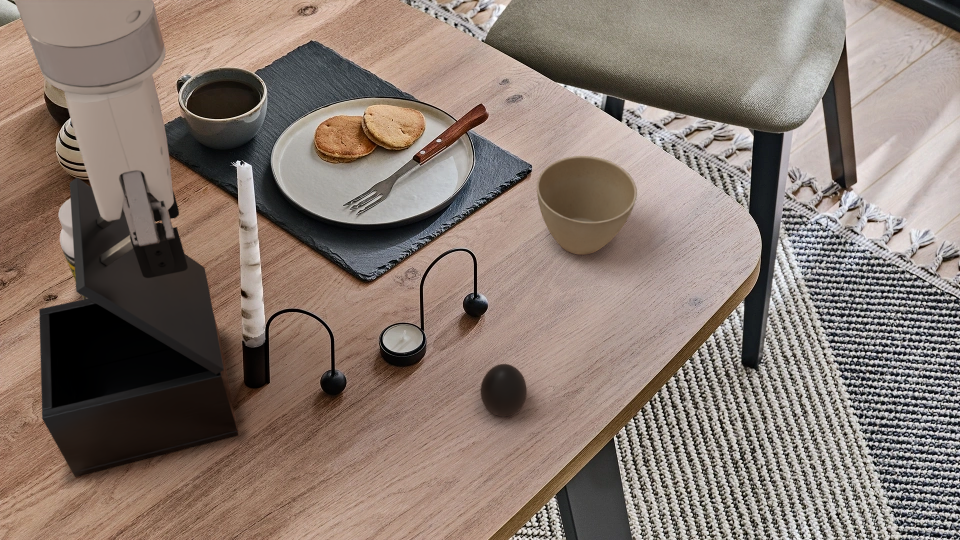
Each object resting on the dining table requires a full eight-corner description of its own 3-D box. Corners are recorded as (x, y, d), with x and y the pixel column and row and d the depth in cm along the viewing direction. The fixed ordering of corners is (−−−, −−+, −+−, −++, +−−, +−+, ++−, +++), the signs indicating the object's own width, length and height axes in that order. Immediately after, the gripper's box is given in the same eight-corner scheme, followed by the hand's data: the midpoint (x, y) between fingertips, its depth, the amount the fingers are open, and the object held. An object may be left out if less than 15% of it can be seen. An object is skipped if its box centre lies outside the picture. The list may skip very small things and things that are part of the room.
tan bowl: (586, 193, 104) (594, 143, 99) (646, 248, 99) (657, 197, 93) (513, 228, 100) (517, 177, 95) (571, 286, 95) (578, 236, 89)
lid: (75, 291, 64) (136, 249, 63) (69, 182, 72) (123, 143, 71) (216, 374, 75) (270, 339, 74) (198, 272, 83) (246, 239, 82)
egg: (470, 404, 85) (471, 371, 81) (500, 377, 87) (502, 343, 83) (505, 430, 83) (507, 397, 79) (534, 402, 85) (538, 369, 81)
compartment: (75, 478, 79) (41, 418, 72) (69, 371, 86) (38, 308, 80) (239, 436, 82) (221, 375, 75) (220, 336, 89) (202, 273, 83)
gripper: (32, -23, 63) (104, 181, 76) (34, 134, 52) (118, 340, 65) (148, -39, 64) (199, 164, 78) (174, 111, 54) (228, 316, 67)
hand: (161, 242), depth 71 cm, fingers closed on lid, 5 cm apart
